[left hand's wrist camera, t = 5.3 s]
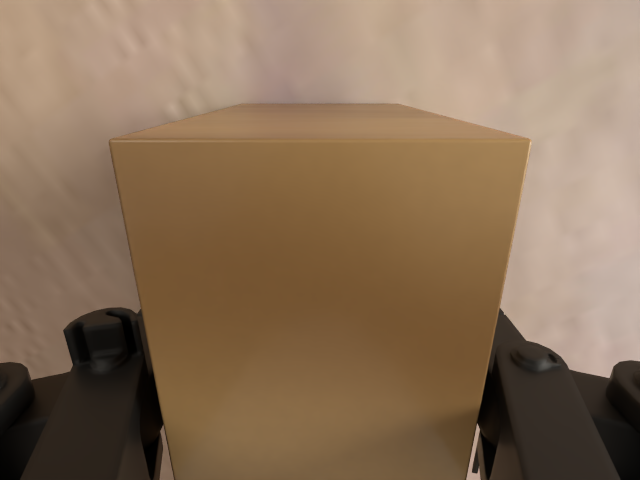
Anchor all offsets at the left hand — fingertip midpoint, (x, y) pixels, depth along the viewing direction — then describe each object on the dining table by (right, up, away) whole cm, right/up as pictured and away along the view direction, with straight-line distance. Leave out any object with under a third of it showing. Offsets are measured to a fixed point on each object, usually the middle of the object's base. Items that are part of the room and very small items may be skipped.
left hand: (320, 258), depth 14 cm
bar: (0, -20, +9) cm, 22 cm away
